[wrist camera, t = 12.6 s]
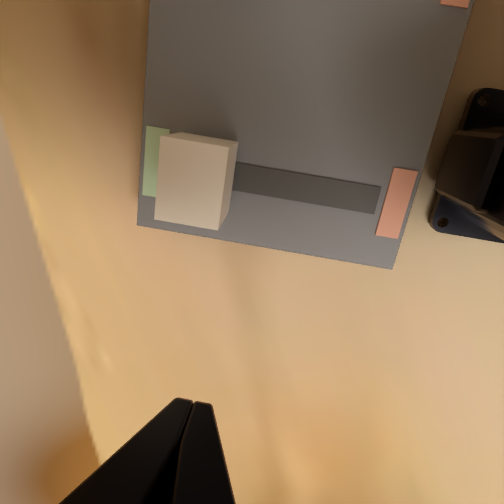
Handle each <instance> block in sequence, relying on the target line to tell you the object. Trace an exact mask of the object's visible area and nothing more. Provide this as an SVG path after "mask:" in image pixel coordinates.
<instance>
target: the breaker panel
mask: <svg viewBox="0 0 504 504" xmlns="http://www.w3.org/2000/svg"><path fill="white" fill-rule="evenodd" d="M473 4H474V0H150V4H149V21H148V39H147V56H146V73H145V91H144V108H143V126H142V143H141V161H140V178H139V196H138V213H137V225H138V226H144V227H150V228H156V229H161V230H167V231H173V232H179V233H184V234H190V235H196V236H202V237H207V238H213V239H219V240H225V241H230V242H236V243H242V244H248V245H253V246H259V247H265V248H271V249H276V250H282V251H288V252H294V253H299V254H305V255H311V256H317V257H322V258H328V259H334V260H339V261H345V262H351V263H357V264H362V265H368V266H374V267H380V268H385V269H391V270H392V269H393V265H394V262H395V259H396V256H397V252H398V249H399V246H400V243H401V239H402V236H403V233H404V229H405V226H406V223H407V220H408V216H409V213H410V210H411V207H412V203H413V200H414V197H415V193H416V190H417V187H418V184H419V180H420V177H421V174H422V171H423V167H424V164H425V161H426V157H427V154H428V151H429V148H430V144H431V141H432V138H433V135H434V131H435V128H436V125H437V121H438V118H439V115H440V112H441V108H442V105H443V102H444V99H445V95H446V92H447V89H448V85H449V82H450V79H451V76H452V72H453V69H454V66H455V63H456V59H457V56H458V53H459V49H460V46H461V43H462V40H463V36H464V33H465V30H466V27H467V23H468V20H469V17H470V13H471V10H472V7H473ZM180 132H183V133H189V134H195V135H201V136H207V137H213V138H219V139H225V140H231V141H237V142H238V149H237V156H236V163H235V171H234V178H233V185H232V192H231V199H230V206H229V212H228V214H227V216H226V217H225V219H224V221H223V223H222V224H221V226H220V228H219V230H212V229H206V228H201V227H195V226H189V225H183V224H178V223H172V222H166V221H160V220H154V214H155V200H156V187H157V173H158V159H159V146H160V136H162V135H168V134H174V133H180Z"/></svg>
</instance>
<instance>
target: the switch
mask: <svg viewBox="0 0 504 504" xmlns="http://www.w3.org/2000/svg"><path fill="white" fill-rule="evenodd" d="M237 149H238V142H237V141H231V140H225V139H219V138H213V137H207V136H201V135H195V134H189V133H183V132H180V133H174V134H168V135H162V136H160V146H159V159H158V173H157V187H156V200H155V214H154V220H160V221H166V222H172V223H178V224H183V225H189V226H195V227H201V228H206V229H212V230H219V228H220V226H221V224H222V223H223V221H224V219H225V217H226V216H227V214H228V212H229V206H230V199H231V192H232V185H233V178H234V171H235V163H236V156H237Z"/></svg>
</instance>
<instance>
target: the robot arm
mask: <svg viewBox="0 0 504 504" xmlns="http://www.w3.org/2000/svg"><path fill="white" fill-rule="evenodd" d="M482 95H484V96H485V97H486V102H485V104H484V105H483V106H480V105H479V104H478V99H479V98H480V96H482ZM435 188H436V190H437V192H438V194H437V198H436V201H435V204H434V207H433V210H432V213H431V216H430V220H429V223H430V226H431V227H432V228H433V229H434V230H436V231H438V232H441V233H447V234H453V235H459V236H464V237H470V238H476V239H482V240H488V241H494V242H499V243H504V90H498V89H492V88H482V89H478V90H476V91H474V92H473V93H472V94H471V95H470V97H469V99H468V102H467V105H466V108H465V112H464V115H463V118H462V121H461V124H460V127H459V130H458V131H456V132H455V133H454V134H452V136H451V138H450V142H449V145H448V148H447V151H446V154H445V157H444V160H443V163H442V166H441V170H440V173H439V176H438V179H437V182H436V185H435ZM442 217H445V222H444V224H442V225H438V220H439V219H440V218H442ZM59 504H236V503H235V499H234V495H233V490H232V486H231V482H230V478H229V473H228V469H227V465H226V461H225V457H224V452H223V448H222V444H221V440H220V436H219V431H218V427H217V423H216V419H215V414H214V410H213V406H212V405H211V404H210V403H205V402H199V401H196V402H194V403H193V401H192V400H189V399H183V398H175V399H174V400H173V401H171V402H170V403H169V404H168V405H167V406H166V407H165V408H164V409H163V410H162V411H160V412H159V413H158V414H157V415H156V416H155V417H154V418H153V419H152V420H151V421H149V422H148V423H147V424H146V425H145V426H144V427H143V428H142V429H141V430H140V431H138V432H137V433H136V434H135V435H134V436H133V437H132V438H131V439H130V440H129V441H127V442H126V443H125V444H124V445H123V446H122V447H121V448H120V449H119V450H118V451H116V452H115V453H114V454H113V455H112V456H111V457H110V458H109V459H108V460H107V461H105V462H104V463H103V464H102V465H101V466H100V467H99V468H98V469H97V470H96V471H94V472H93V473H92V474H91V475H90V476H89V477H88V478H87V479H86V480H85V481H83V482H82V483H81V484H80V485H79V486H78V487H77V488H76V489H75V490H74V491H72V492H71V493H70V494H69V495H68V496H67V497H66V498H65V499H64V500H63V501H62V502H60V503H59Z"/></svg>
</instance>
